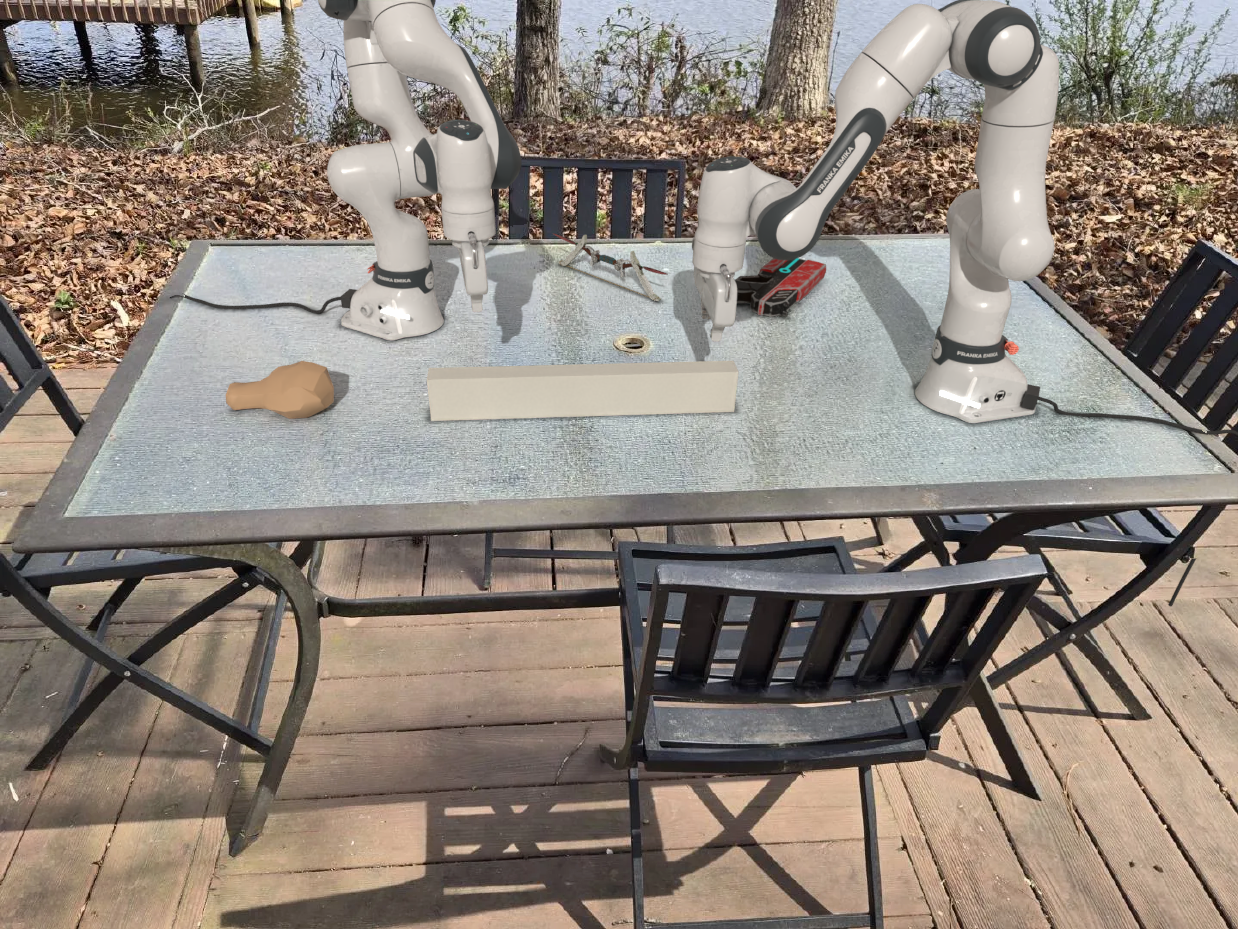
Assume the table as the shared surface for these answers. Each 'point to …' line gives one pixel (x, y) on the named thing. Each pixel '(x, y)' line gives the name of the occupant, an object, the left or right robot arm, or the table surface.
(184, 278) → the table surface
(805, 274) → the gun
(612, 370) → the beam
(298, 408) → the squash
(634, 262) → the bow
